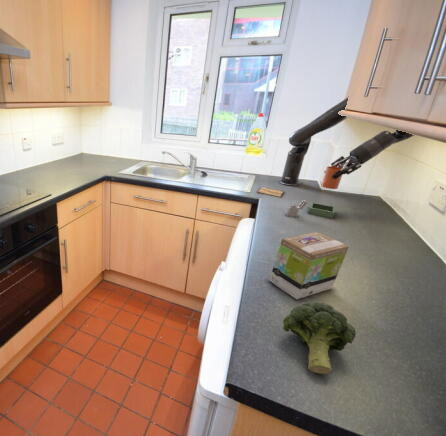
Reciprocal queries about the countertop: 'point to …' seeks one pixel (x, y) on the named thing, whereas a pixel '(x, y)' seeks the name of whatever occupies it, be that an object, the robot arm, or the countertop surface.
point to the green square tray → (322, 210)
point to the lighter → (295, 209)
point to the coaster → (270, 192)
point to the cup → (331, 178)
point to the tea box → (307, 264)
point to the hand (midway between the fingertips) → (329, 175)
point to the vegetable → (320, 332)
